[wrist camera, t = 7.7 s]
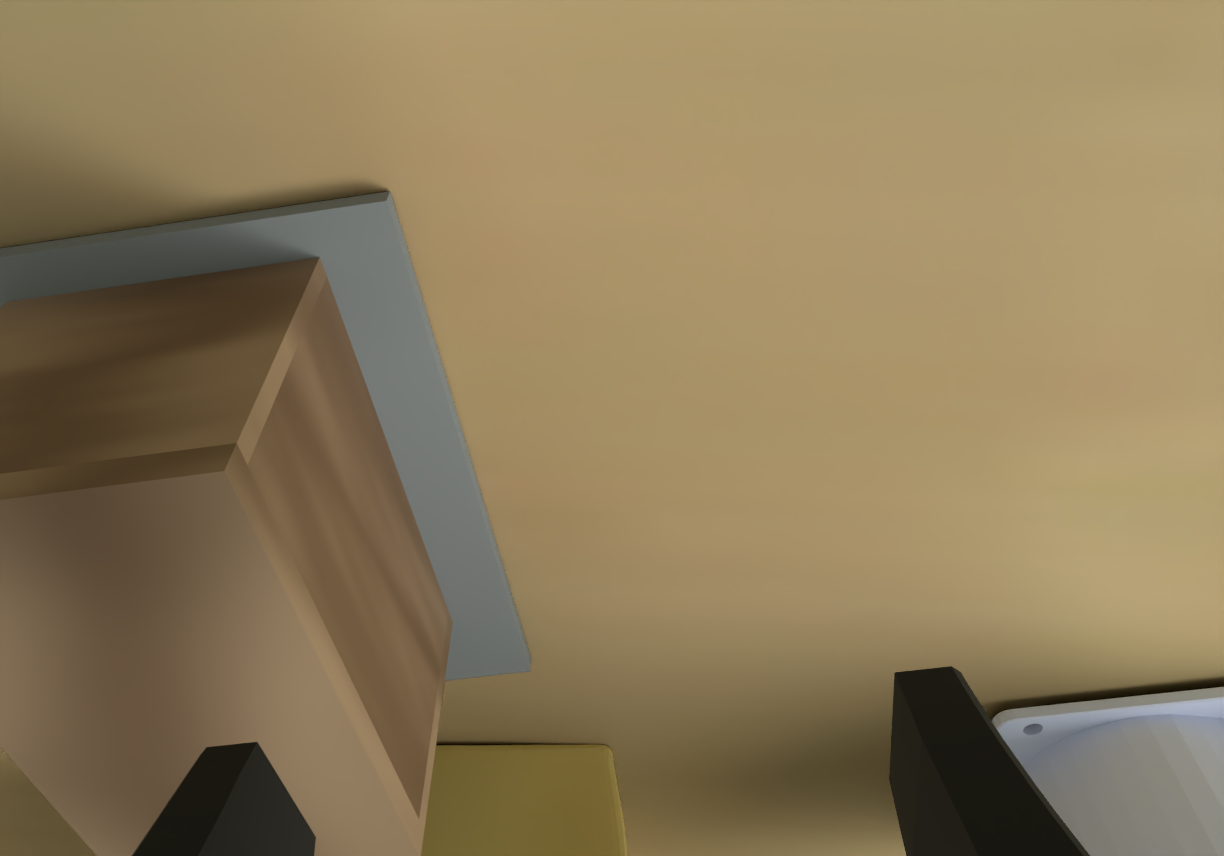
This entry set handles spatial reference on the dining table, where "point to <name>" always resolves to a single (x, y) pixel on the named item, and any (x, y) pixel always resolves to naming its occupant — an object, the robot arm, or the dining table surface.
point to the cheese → (524, 802)
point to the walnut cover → (210, 559)
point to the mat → (387, 355)
